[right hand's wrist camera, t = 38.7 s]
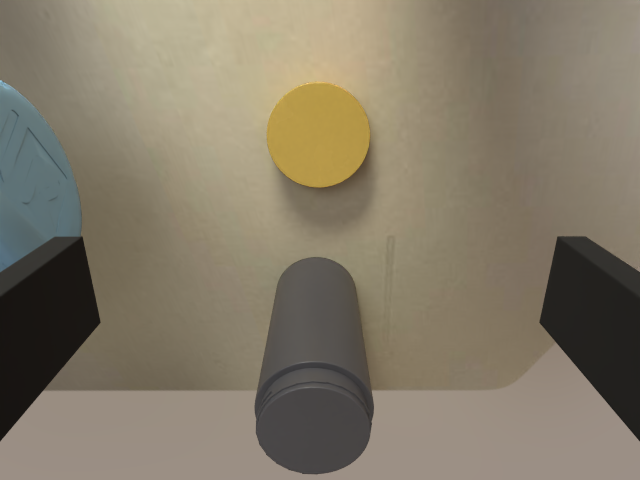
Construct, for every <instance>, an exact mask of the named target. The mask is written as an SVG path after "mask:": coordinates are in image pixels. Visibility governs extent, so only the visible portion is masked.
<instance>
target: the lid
mask: <svg viewBox="0 0 640 480" xmlns="http://www.w3.org/2000/svg"><path fill="white" fill-rule="evenodd" d="M267 143H268V148H269V152H270V154H271V157H272V159H273V161H274V162H275V164H276V166H277V167H278V168H279V170H280V171H281V172H282V173H283V174H284V175H286V176H287V177H288V178H289V179H291V180H293V181H295V182H297V183H299V184H301V185H305V186H308V187H328V186H333V185H336V184H338V183H340V182H342V181H344V180H346V179H347V178H349V177H350V176H351V175H352V174H353V173H355V172H356V170H357V169H358V168H359V167H360V165H361V164H362V162H363V161H364V159H365V157H366V154H367V151H368V148H369V143H370V128H369V123H368V119H367V116H366V114H365V112H364V110H363V108H362V106H361V105H360V103H359V102H358V101H357V100H356V99H355V98H354V97H353V96H352V95H351V94H350V93H349V92H348V91H346V90H345V89H343V88H341V87H339V86H337V85H335V84H331V83H327V82H309V83H305V84H302V85H300V86H297V87H295V88H294V89H292V90H291V91H289V92H288V93H287V94H286V95H284V96H283V97H282V98H281V100H280V101H279V102H278V103H277V105H276V106H275V107H274V109H273V111H272V113H271V116H270V118H269V122H268V126H267Z"/></svg>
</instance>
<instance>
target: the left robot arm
mask: <svg viewBox="0 0 640 480" xmlns="http://www.w3.org/2000/svg"><path fill="white" fill-rule="evenodd" d="M81 227H82V214H81V204H80V198H79V193H78V188H77V184H76V182H75V179H74V176H73V172H72V169H71V166H70V163H69V161H68V159H67V156H66V154H65V152H64V150H63V148H62V146H61V144H60V142H59V140H58V139H57V137H56V135H55V134H54V132H53V130H52V129H51V127H50V126H49V124H48V123H47V122H46V120H45V119H44V118H43V116H42V115H41V114H40V113H39V112H38V110H37V109H36V108H35V107H34V106H33V105H32V104H31V103H30V102H29V101H28V100H27V99H26V98H25V97H24V96H23V95H21V94H20V93H19V92H18V91H17V90H15V89H14V88H13V87H11V86H10V85H8V84H6V83H5V82H3V81H1V80H0V272H1V271H3V270H4V269H6V268H7V267H9V266H10V265H12V264H14V263H15V262H17V261H18V260H20V259H21V258H23V257H24V256H26V255H27V254H29V253H30V252H32V251H33V250H35V249H36V248H38V247H39V246H41V245H43V244H44V243H46V242H47V241H49V240H50V239H52V238H53V237H80V236H81Z"/></svg>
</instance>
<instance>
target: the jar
mask: <svg viewBox="0 0 640 480" xmlns="http://www.w3.org/2000/svg"><path fill="white" fill-rule="evenodd" d="M373 413H374V404H373V397H372V390H371V384H370V378H369V371H368V365H367V359H366V352H365V346H364V340H363V333H362V327H361V320H360V314H359V308H358V301H357V295H356V289H355V284H354V281H353V279H352V277H351V275H350V274H349V272H348V271H347V270H346V269H345V268H344V267H343V266H341V265H340V264H338V263H336V262H335V261H332V260H330V259H326V258H319V257H313V258H307V259H303V260H300V261H298V262H296V263H294V264H292V265H291V266H290V267H288V268H287V269H286V270H285V271H284V273H283V274H282V276H281V277H280V279H279V282H278V285H277V290H276V295H275V300H274V306H273V311H272V316H271V321H270V327H269V332H268V337H267V342H266V347H265V353H264V358H263V363H262V368H261V374H260V379H259V384H258V389H257V394H256V400H255V415H256V434H257V437H258V440H259V444H260V446H261V447H262V449H263V450H264V451H265V453H266V455H267V456H269V457H270V458H271V459H272V460H273V461H275V462H276V463H277V464H279V465H281V466H282V467H284V468H287V469H289V470H291V471H296V472H300V473H302V474H323V473H329V472H333V471H336V470H339V469H341V468H344V467H346V466H348V465H349V464H351V463H352V462H354V461H355V460H356V459H357V458H358V457H359V456H360V455H361V454H362V453H363V451H364V450H365V448H366V446H367V444H368V441H369V438H370V432H371V425H372V422H371V421H372V417H373Z"/></svg>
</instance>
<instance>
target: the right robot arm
mask: <svg viewBox="0 0 640 480" xmlns="http://www.w3.org/2000/svg"><path fill="white" fill-rule="evenodd" d="M100 323H101V322H100V318H99V313H98V308H97V303H96V299H95V294H94V289H93V284H92V280H91V275H90V270H89V265H88V261H87V256H86V251H85V247H84V242H83V237H53V238H52V239H50V240H49V241H47V242H46V243H44V244H43V245H41V246H39V247H38V248H36V249H35V250H33V251H32V252H30V253H29V254H27V255H26V256H24V257H23V258H21V259H20V260H18V261H17V262H15V263H14V264H12V265H10V266H9V267H7V268H6V269H4V270H3V271H1V272H0V441H1V440H2V438H3V437H4V436H5V435H6V434H7V433H8V431H9V430H10V429H11V428H12V427H13V425H14V424H15V423H16V422H17V421H18V420H19V418H20V417H21V416H22V415H23V414H24V413H25V411H26V410H27V409H28V408H29V407H30V405H31V404H32V403H33V402H34V401H35V399H36V398H37V397H38V396H39V395H40V394H41V392H42V391H43V390H44V389H45V388H46V386H47V385H48V384H49V383H50V382H51V381H52V379H53V378H54V377H55V376H56V375H57V373H58V372H59V371H60V370H61V369H62V368H63V366H64V365H65V364H66V363H67V362H68V360H69V359H70V358H71V357H72V356H73V355H74V353H75V352H76V351H77V350H78V349H79V347H80V346H81V345H82V344H83V343H84V341H85V340H86V339H87V338H88V337H89V336H90V334H91V333H92V332H93V331H94V330H95V328H96V327H97V326H98V325H99V324H100ZM539 323H540V324H541V325H542V326H543V327H544V328H545V330H546V331H547V332H548V333H549V334H550V336H551V337H552V338H553V339H554V340H555V341H556V343H557V344H558V345H559V346H560V347H561V349H562V350H563V351H564V352H565V353H566V354H567V356H568V357H569V358H570V359H571V360H572V362H573V363H574V364H575V365H576V366H577V367H578V369H579V370H580V371H581V372H582V373H583V375H584V376H585V377H586V378H587V379H588V380H589V382H590V383H591V384H592V385H593V386H594V388H595V389H596V390H597V391H598V392H599V394H600V395H601V396H602V397H603V398H604V399H605V401H606V402H607V403H608V404H609V405H610V407H611V408H612V409H613V410H614V411H615V412H616V414H617V415H618V416H619V417H620V418H621V420H622V421H623V422H624V423H625V424H626V425H627V427H628V428H629V429H630V430H631V431H632V433H633V434H634V435H635V436H636V437H637V439H638V440H639V441H640V272H639V271H637V270H636V269H634V268H633V267H631V266H630V265H628V264H626V263H625V262H623V261H622V260H620V259H619V258H617V257H616V256H614V255H613V254H611V253H610V252H608V251H607V250H605V249H604V248H602V247H601V246H599V245H597V244H596V243H594V242H593V241H591V240H590V239H588V238H587V237H557V242H556V247H555V251H554V256H553V261H552V265H551V270H550V275H549V280H548V284H547V289H546V294H545V299H544V303H543V308H542V313H541V318H540V322H539Z"/></svg>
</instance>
